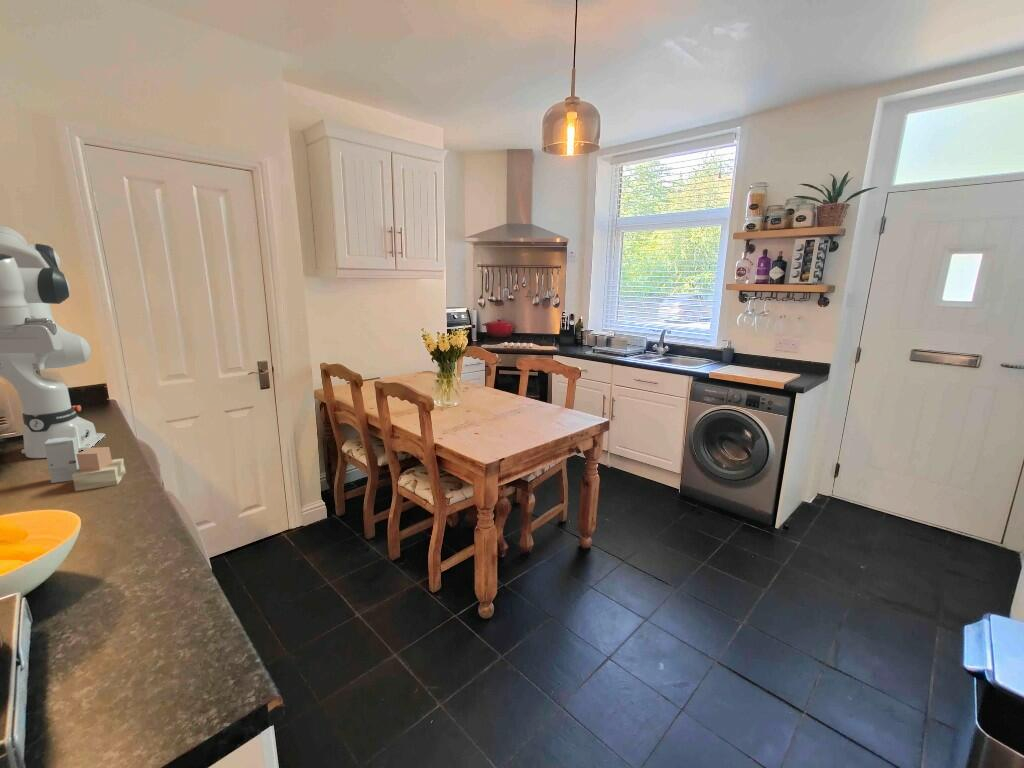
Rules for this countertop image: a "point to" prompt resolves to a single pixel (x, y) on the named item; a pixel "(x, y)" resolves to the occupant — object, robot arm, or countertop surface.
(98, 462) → the terracotta cube
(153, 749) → the countertop surface
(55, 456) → the skincare box
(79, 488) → the birch block
